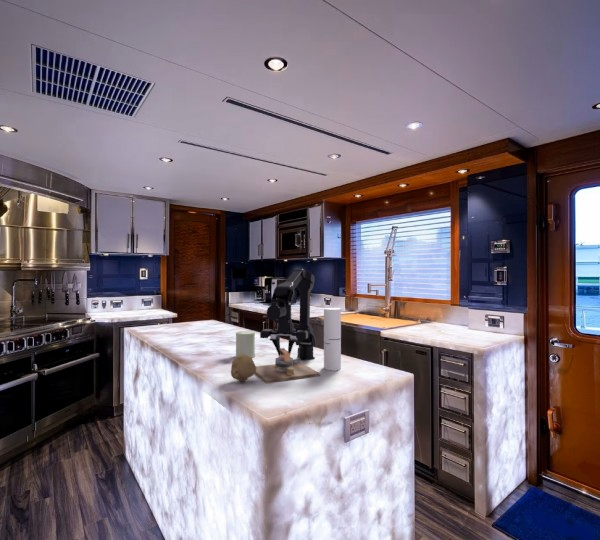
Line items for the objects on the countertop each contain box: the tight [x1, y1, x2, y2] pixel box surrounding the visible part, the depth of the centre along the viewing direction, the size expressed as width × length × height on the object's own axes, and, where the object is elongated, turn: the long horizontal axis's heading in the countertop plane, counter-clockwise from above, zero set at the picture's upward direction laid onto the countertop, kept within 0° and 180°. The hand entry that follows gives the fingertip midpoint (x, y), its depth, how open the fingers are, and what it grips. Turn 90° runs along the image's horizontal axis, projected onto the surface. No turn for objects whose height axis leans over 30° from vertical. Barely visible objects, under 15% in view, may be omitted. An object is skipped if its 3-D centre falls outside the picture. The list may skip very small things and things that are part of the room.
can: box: [235, 330, 256, 359], centre depth 171 cm, size 9×9×12 cm
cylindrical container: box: [323, 307, 342, 371], centre depth 150 cm, size 7×7×25 cm
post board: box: [254, 361, 321, 384], centre depth 143 cm, size 22×20×3 cm
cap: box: [274, 347, 294, 367], centre depth 143 cm, size 9×7×6 cm
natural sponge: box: [230, 354, 257, 383], centre depth 131 cm, size 9×9×10 cm
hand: (284, 355), depth 143 cm, fingers closed on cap, 3 cm apart
